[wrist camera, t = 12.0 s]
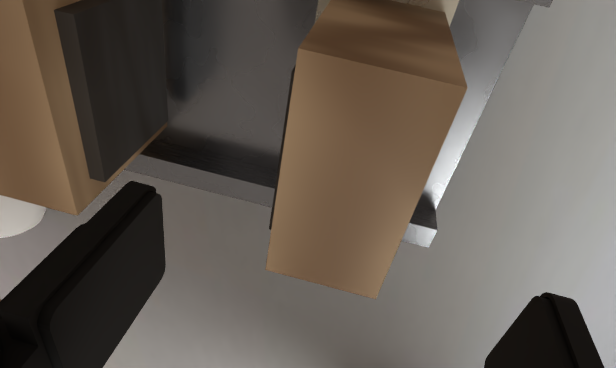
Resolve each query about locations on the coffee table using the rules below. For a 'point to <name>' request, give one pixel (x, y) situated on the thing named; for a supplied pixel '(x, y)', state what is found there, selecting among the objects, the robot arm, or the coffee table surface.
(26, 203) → the flower in vase
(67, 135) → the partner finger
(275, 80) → the gray tray
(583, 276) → the coffee table surface
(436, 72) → the block
